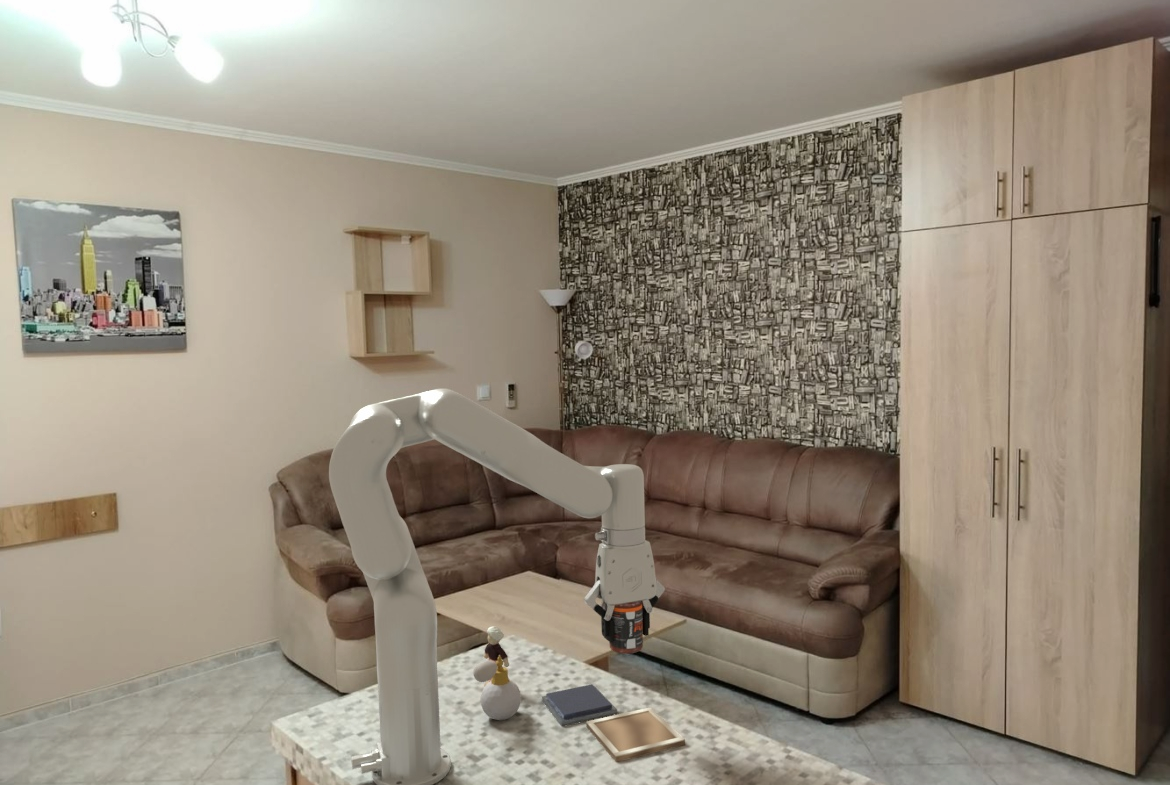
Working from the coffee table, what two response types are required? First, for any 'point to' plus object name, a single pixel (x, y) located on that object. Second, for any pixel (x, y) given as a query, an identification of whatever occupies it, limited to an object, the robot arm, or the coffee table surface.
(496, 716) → the perfume bottle
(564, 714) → the pad
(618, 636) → the supplement bottle
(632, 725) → the framed board
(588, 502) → the robot arm
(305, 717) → the coffee table surface
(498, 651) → the grandmother figurine
